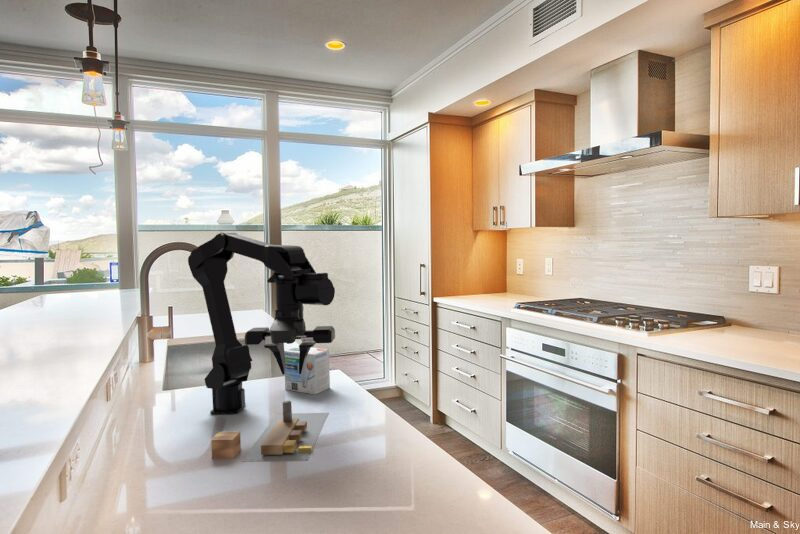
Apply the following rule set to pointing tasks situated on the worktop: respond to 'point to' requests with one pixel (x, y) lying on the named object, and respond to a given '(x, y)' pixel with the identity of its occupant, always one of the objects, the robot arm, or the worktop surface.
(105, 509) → the worktop surface
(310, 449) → the pointer
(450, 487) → the worktop surface
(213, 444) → the yellow-striped wooden block
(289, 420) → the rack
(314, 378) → the light bulb box
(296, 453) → the base plate
